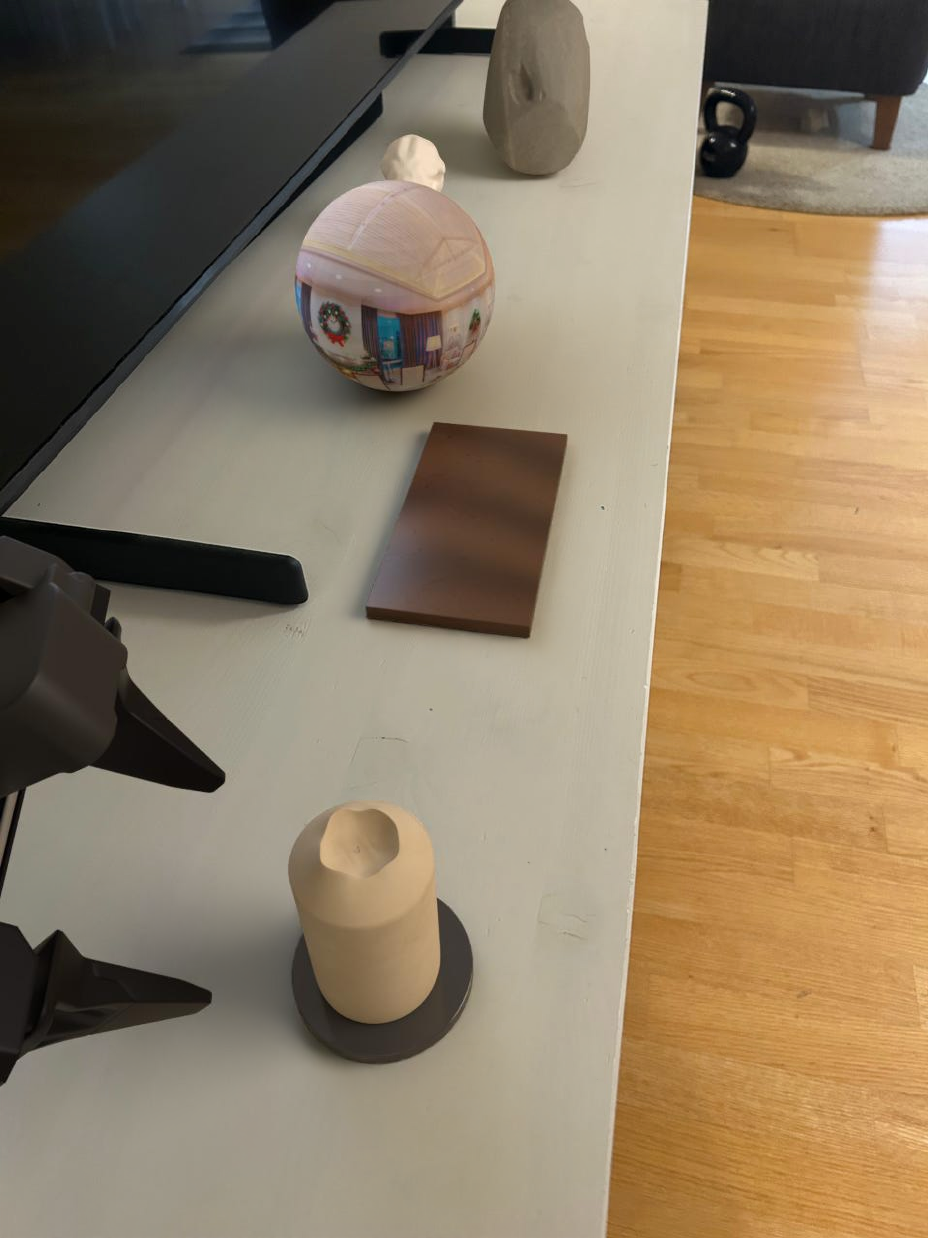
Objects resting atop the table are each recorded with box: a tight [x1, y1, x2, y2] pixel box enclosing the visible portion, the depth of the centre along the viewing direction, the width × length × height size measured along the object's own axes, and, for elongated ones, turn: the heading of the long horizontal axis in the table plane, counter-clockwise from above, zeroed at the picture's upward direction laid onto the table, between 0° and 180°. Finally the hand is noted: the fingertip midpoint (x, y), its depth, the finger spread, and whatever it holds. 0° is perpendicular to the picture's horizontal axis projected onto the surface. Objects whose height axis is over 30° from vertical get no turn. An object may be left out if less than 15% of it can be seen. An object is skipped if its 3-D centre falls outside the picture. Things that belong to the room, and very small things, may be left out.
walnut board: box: [365, 421, 569, 639], centre depth 65 cm, size 20×10×1 cm, turn 169°
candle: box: [287, 799, 440, 1024], centre depth 39 cm, size 6×6×10 cm
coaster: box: [290, 897, 474, 1064], centre depth 43 cm, size 8×8×1 cm
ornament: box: [294, 179, 496, 392], centre depth 74 cm, size 15×15×15 cm
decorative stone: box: [482, 0, 591, 176], centre depth 107 cm, size 12×17×15 cm
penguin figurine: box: [379, 133, 446, 193], centre depth 94 cm, size 6×8×12 cm
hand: (213, 884), depth 37 cm, fingers open, 9 cm apart
